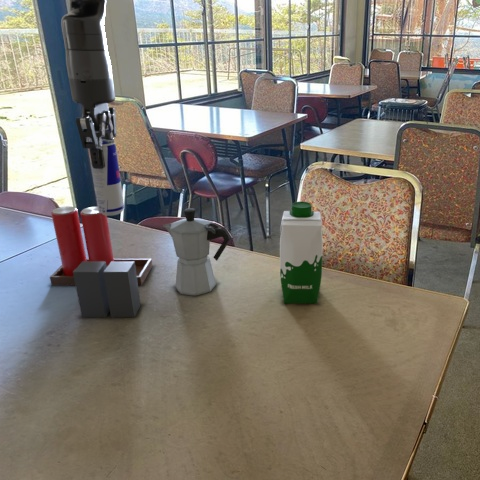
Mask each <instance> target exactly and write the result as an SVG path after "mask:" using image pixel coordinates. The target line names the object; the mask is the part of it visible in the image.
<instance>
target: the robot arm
mask: <svg viewBox="0 0 480 480" xmlns="http://www.w3.org/2000/svg"><path fill="white" fill-rule="evenodd" d="M106 5H107V0H69V11H68V13H66V14H64V15H63V16H62V17H61V20H60V21H61V22H60V25H61V32H62V33H61V34H62V38H63V41H64V44H63V45H64V49H65V64H66V70H67V76H68V83H69V89H70V95H71V98H72V101H73V102H74V103H75V104H80V105H81V107H82V112H81V113H82V114H81V115H82V116H81V117H76V118H75V124H76V127H77V130H78V131H77V132H78V136H79V138H80V141H81V146H82V148H83V149H87V150H88V149H90V155H91V161H92V167H93V168H94V169H103V168H104V167H105V161H104V155H103V149H102V140H113V141H115V138H117V119H116V108H115V107H114V106H113V107H112V106H111V107H110V106H109V104H110V103H113V102H114V101H116V93H115V86H114V78H113V69H112V65H111V64H112V63H111V59H110V56H109V51H108V45H107V38H106V32H105V26H104V25H105V17H106Z"/></svg>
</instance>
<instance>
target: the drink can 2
mask: <svg viewBox="0 0 480 480" xmlns="http://www.w3.org/2000/svg"><path fill="white" fill-rule="evenodd" d="M80 219H81V224H82V231H83V235H84V241H85V247H86V252H87V258H88V259H89V261H106V265H107V266H108V265H109V264H110V262H111V261H114V259H115V258H114V252H113V246H112V239H111V235H110V234H111V233H110V227H109V221H108V216H106V215H103V214H102V213H100V212H99V211H98V207H97V206H90V207H86V208H85V207H84V208H83V209H82V210H81V211H80Z"/></svg>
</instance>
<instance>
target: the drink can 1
mask: <svg viewBox="0 0 480 480" xmlns="http://www.w3.org/2000/svg"><path fill="white" fill-rule="evenodd" d="M50 215H51V218H52V223H53V228H54V233H55V239H56V243H57V248H58V252H59V258H60V262H61V265H62V267H63V272H64V276H74V275H73V271H74V270H75V269H76V268H77V267H78V266H79V265H80V264H81V262H82V261H87V259H88V258H87V254H86V249H85V244H84V239H83V234H82V228H81V223H80V222H81V221H80V217H79V212H78V209H77V208H76V207H75V206H69V205H67V206H60V207H56V208H54V209H53V210H52V211H50Z"/></svg>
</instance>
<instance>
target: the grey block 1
mask: <svg viewBox="0 0 480 480" xmlns="http://www.w3.org/2000/svg"><path fill="white" fill-rule="evenodd" d="M106 268H107V265H106V261H82V262H81V264H80V265H79V266H78V267H77V268H76V269H75V270H74V271H73V275H74V280H75V285H76V286H75V290H76V295H77V299H78V304H79V305H78V306H79V309H80V314H81V318H106V317H107V316H108V314H110V309H109V303H108V297H107V292H106V286H105V280H104V274H103V272H104V270H105V269H106Z"/></svg>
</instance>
